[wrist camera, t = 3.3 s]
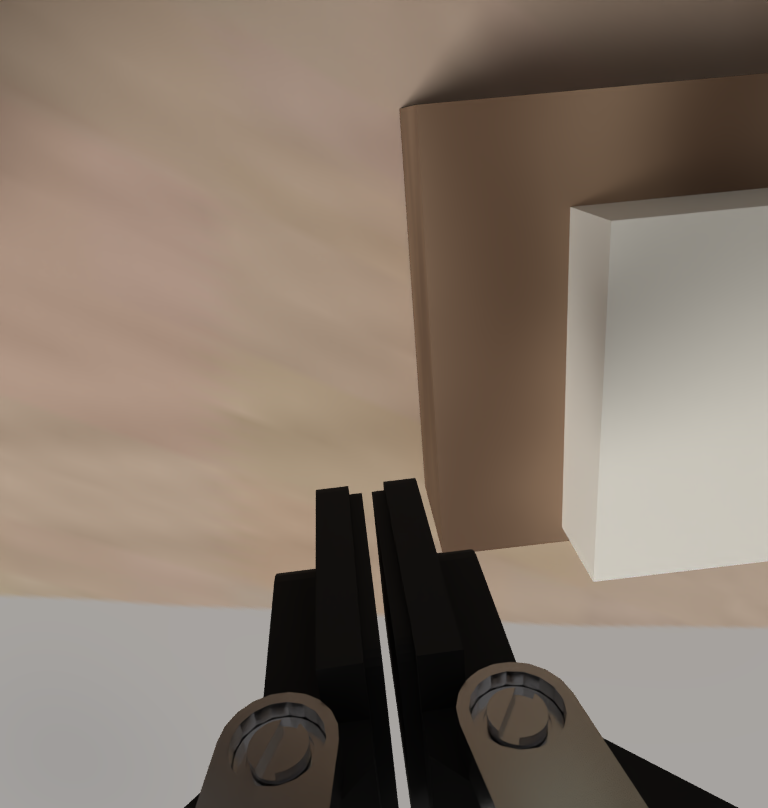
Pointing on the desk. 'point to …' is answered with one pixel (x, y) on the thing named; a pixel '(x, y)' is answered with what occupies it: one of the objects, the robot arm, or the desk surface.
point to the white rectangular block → (667, 384)
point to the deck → (535, 269)
